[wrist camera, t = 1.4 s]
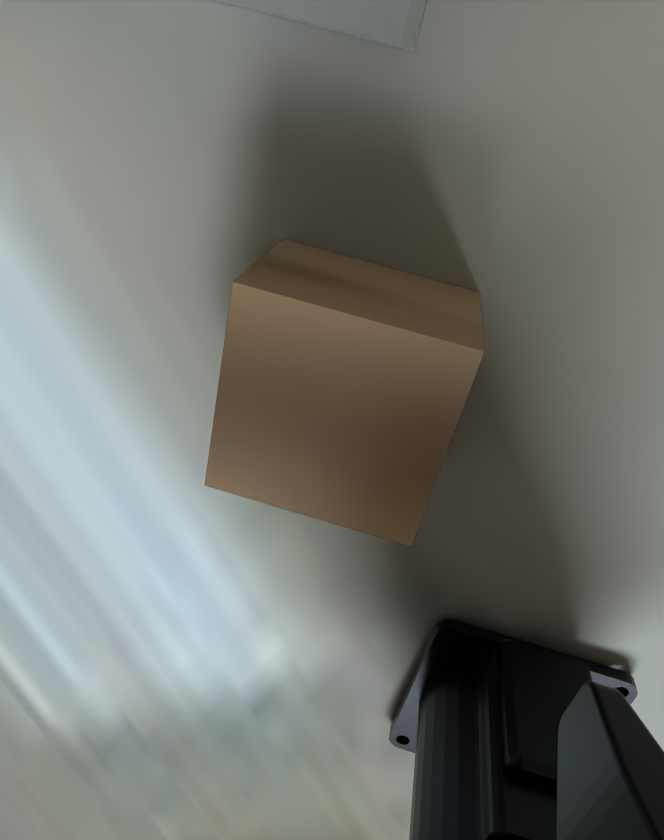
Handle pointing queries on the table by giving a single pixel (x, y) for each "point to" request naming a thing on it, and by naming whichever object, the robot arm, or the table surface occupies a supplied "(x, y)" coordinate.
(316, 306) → the block
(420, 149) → the table surface
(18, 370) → the table surface
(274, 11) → the base
